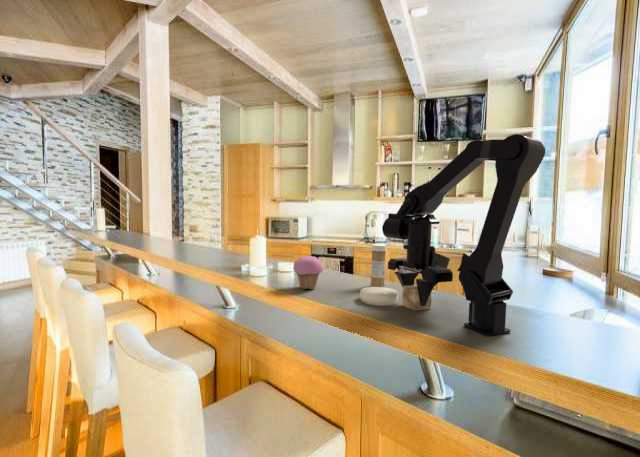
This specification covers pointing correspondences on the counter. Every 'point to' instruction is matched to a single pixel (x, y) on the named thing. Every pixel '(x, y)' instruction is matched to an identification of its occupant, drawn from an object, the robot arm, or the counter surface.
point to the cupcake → (308, 271)
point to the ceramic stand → (379, 296)
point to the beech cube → (413, 298)
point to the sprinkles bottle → (378, 265)
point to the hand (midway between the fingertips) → (416, 302)
